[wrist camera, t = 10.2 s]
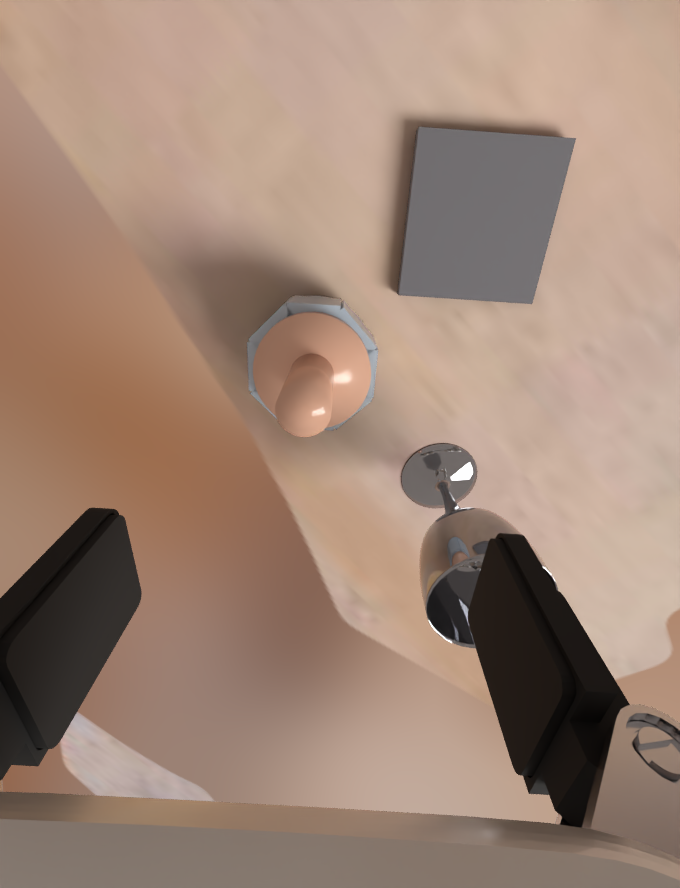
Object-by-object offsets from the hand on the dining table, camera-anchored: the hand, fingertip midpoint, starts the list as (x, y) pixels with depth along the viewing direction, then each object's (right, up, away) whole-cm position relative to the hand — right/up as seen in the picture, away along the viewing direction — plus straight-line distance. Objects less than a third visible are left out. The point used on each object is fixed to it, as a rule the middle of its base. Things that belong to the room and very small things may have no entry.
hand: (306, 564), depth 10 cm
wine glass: (+10, 0, +27) cm, 29 cm away
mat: (+11, +19, +18) cm, 28 cm away
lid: (-1, +8, +18) cm, 20 cm away
